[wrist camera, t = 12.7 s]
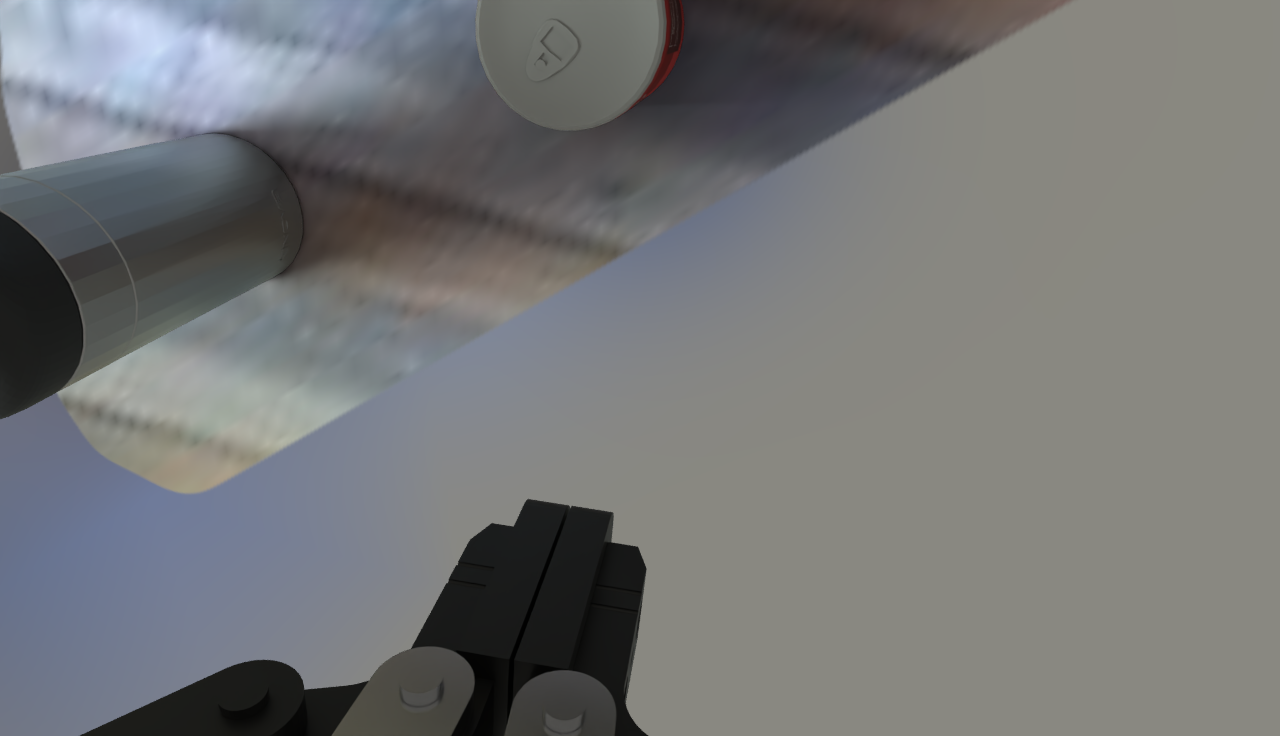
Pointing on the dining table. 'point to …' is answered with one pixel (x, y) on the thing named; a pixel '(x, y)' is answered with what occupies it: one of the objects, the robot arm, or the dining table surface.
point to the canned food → (577, 56)
